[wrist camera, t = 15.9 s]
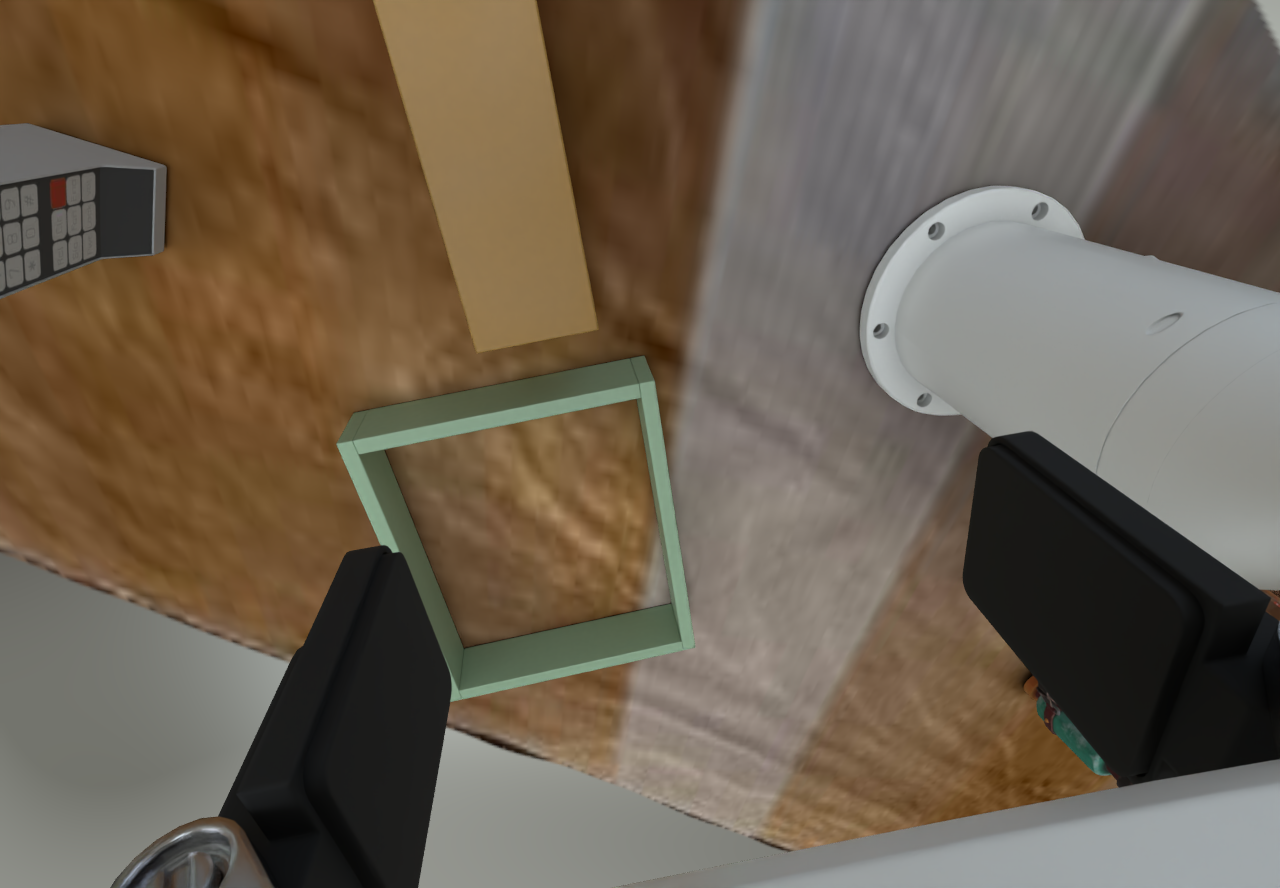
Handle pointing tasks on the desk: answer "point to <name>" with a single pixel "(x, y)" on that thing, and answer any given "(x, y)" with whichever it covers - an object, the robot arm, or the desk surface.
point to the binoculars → (1068, 731)
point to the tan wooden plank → (493, 164)
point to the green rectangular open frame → (499, 407)
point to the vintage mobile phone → (72, 205)
